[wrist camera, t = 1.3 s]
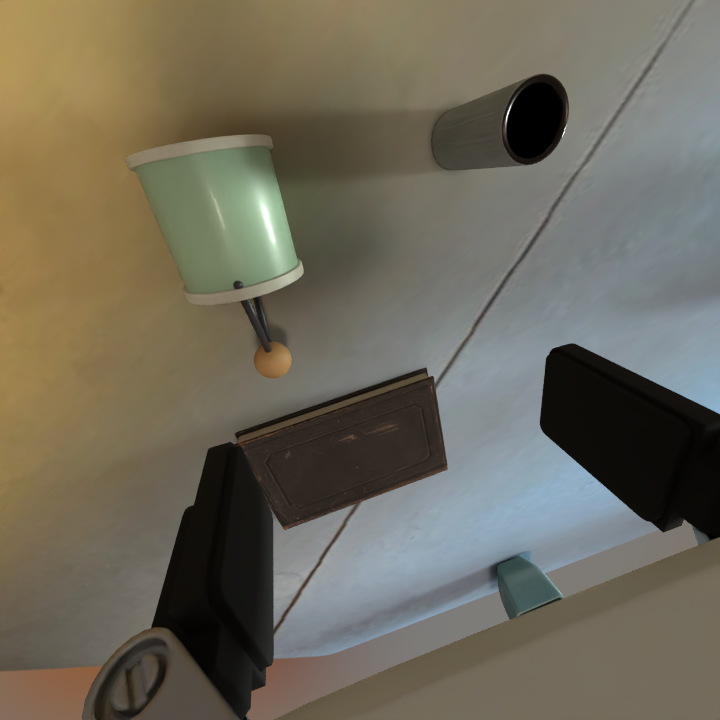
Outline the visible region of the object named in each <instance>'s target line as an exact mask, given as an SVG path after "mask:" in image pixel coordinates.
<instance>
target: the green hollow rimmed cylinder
mask: <svg viewBox="0 0 720 720" xmlns="http://www.w3.org/2000/svg"><path fill="white" fill-rule="evenodd" d="M272 148H273V143H272V139H271V137H270V136H268V135H262V134H246V135H231V136H221V137H212V138H205V139H198V140H191V141H185V142H179V143H174V144H169V145H164V146H159V147H155V148H150V149H146V150H143V151H139V152H136V153H133V154H131V155H129V156H127V157H126V158H125V161H126V163H127V166H128V168H129V170H131V171H136V173H137V175H138V178H139V180H140V182H141V185H142V187H143V189H144V192H145V194H146V196H147V199H148V201H149V203H150V206H151V208H152V210H153V212H154V215H155V217H156V219H157V222H158V224H159V226H160V229H161V231H162V233H163V236H164V238H165V240H166V243H167V245H168V247H169V249H170V252H171V254H172V256H173V259H174V261H175V263H176V266H177V268H178V270H179V273H180V275H181V277H182V280H183V282H184V284H185V286H184V288H183V293H184V295H185V298H186V300H187V301H188V302H189V303H191V304H195V305H219V304H227V303H233V302H238V301H241V303H242V305H243V307H244V309H245V311H246V313H247V315H248V317H249V320H250V322H251V324H252V326H253V328H254V330H255V332H256V334H257V336H258V338H259V340H260V342H261V344H262V346H260V347H259V348H258V349H257V351H256V353H255V356H254V364H255V367H256V369H257V371H258V372H259V373H260V374H261V375H263V376H265V377H268V378H278V377H280V376H282V375H284V374H285V373H286V372H287V371H288V370H289V368H290V366H291V354H290V352H289V350H288V349H287V348H286V347H285V346H284V345H282V344H280V343H277V342H272V341H271V337H270V333H269V329H268V326H267V322H266V318H265V314H264V310H263V307H262V303H261V299H260V296H261V295H264V294H268V293H270V292H273V291H276V290H278V289H281V288H283V287H285V286H287V285H289V284H291V283H293V282H294V281H296V280H297V279H299V278H300V277H301V276H302V275H303V272H304V270H303V265H302V262H301V260H300V259H298V258H297V257H296V253H295V249H294V245H293V241H292V237H291V233H290V229H289V225H288V221H287V217H286V213H285V209H284V205H283V201H282V197H281V193H280V189H279V185H278V181H277V177H276V173H275V169H274V166H273V162H272V158H271V154H270V149H272ZM251 298H253V300H254V304H255V308H256V312H257V315H258V317H257V315H256V313H255V310H254V308H253V306H252V304H251V301H250V299H251Z"/></svg>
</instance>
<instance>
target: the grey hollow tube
mask: <svg viewBox="0 0 720 720" xmlns="http://www.w3.org/2000/svg"><path fill="white" fill-rule="evenodd" d="M568 115H569V103H568V97H567V93H566V91H565V88H564V86H563V85H562V83H561V82H560V81H559V80H558V79H557V78H555V77H553V76H551V75H548V74H537V75H534V76H531V77H529V78H526V79H524V80H521V81H519V82H516V83H514V84H512V85H509V86H507V87H504V88H502V89H499V90H497V91H495V92H492V93H490V94H487V95H485V96H482V97H480V98H478V99H475V100H473V101H470V102H468V103H466V104H463V105H461V106H458V107H456V108H453V109H452V110H450V111H448V112H446V113H445V114H444V115H443V116H442V117H441V118H440V119H439V121H438V122H437V124H436V126H435V129H434V132H433V136H432V150H433V154H434V157H435V159H436V160H437V162H438V163H439V164H440V165H441V166H442V167H444V168H446V169H448V170H468V169H482V168H496V167H510V166H524V165H532V164H536V163H538V162H540V161H542V160H543V159H545V158H546V157H547V156H548V155H550V154H551V153H552V151H553V150H554V149H555V148H556V147H557V145H558V144H559V142H560V140H561V138H562V136H563V134H564V131H565V129H566V125H567V121H568Z"/></svg>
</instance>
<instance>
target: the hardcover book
mask: <svg viewBox="0 0 720 720" xmlns="http://www.w3.org/2000/svg"><path fill="white" fill-rule="evenodd" d="M235 435H236V437H237V439H238V441H237V444H234V446H238V445H241V447H242V448H243V450H244V453H245V455H246V457H247V459H248V461H249V463H250V466H251V468H252V470H253V472H254V474H255V476H256V479H257V481H258V483H259V485H260V487H261V490H262V492H263V494H264V496H265V498H266V500H267V502H268V504H269V506H270V507H271V509H272V511H273V512H274V514H275V515H276V517H277V519H278V520H279V522H280V524H281V525H282V527H283V529H284V530H286V529H289V528H292V527H294V526H297V525H300V524H302V523H305V522H308V521H310V520H313V519H316V518H319V517H321V516H324V515H327V514H329V513H332V512H335V511H337V510H340V509H343V508H345V507H348V506H351V505H354V504H356V503H359V502H362V501H364V500H367V499H370V498H372V497H375V496H378V495H380V494H383V493H386V492H389V491H391V490H394V489H397V488H399V487H402V486H405V485H407V484H410V483H413V482H415V481H418V480H421V479H423V478H426V477H429V476H432V475H434V474H437V473H440V472H442V471H445V470H447V469H448V466H447V460H446V453H445V447H444V440H443V434H442V428H441V421H440V415H439V408H438V402H437V395H436V389H435V382H434V377H433V376H431V377H428V373H427V368H424V369H422V370H419V371H416V372H413V373H410V374H407V375H404V376H401V377H398V378H395V379H392V380H389V381H387V382H384V383H381V384H378V385H375V386H372V387H369V388H366V389H363V390H360V391H357V392H355V393H352V394H349V395H346V396H343V397H340V398H337V399H334V400H331V401H328V402H325V403H322V404H320V405H317V406H314V407H311V408H308V409H305V410H302V411H299V412H296V413H293V414H290V415H287V416H285V417H282V418H279V419H276V420H273V421H270V422H267V423H264V424H261V425H258V426H255V427H253V428H250V429H247V430H244V431H241V432H238V433H235Z"/></svg>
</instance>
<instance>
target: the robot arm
mask: <svg viewBox="0 0 720 720" xmlns="http://www.w3.org/2000/svg"><path fill="white" fill-rule="evenodd" d="M540 427H541V429H542V431H543V432H544V434H545V435H546V436H548V437H549V438H550V439H551V440H552V441H553V442H554V443H556V444H557V445H558V446H559V447H560V448H561V449H563V450H564V451H565V452H566V453H567V454H568V455H569V456H571V457H572V458H573V459H574V460H575V461H576V462H577V463H579V464H580V465H581V466H582V467H583V468H584V469H586V470H587V471H588V472H589V473H590V474H591V475H592V476H594V477H595V478H596V479H597V480H598V481H599V482H600V483H602V484H603V485H604V486H605V487H606V488H607V489H608V490H610V491H611V492H612V493H613V494H614V495H615V496H617V497H618V498H619V499H620V500H621V501H622V502H623V503H625V504H626V505H627V506H628V507H629V508H630V509H631V510H633V511H634V512H635V513H636V514H637V515H638V516H640V517H641V518H642V519H644V520H646V521H649V522H652V523H653V524H654V525H655V526H656V527H657V528H659V529H660V530H661V531H662V532H666V531H668V530H671V529H673V528H676V527H679V526H681V525H682V523H683V521H684V519H685V520H686V521H687V522H688V523H690V524H691V525H692V528H693V531H694V534H695V536H696V539H697V542H698V546H696V547H693V548H691V549H688V550H685V551H683V552H680V553H678V554H675V555H673V556H670V557H667V558H665V559H662V560H660V561H657V562H655V563H652V564H650V565H647V566H644V567H642V568H639V569H637V570H634V571H632V572H629V573H627V574H624V575H622V576H619V577H617V578H614V579H612V580H609V581H606V582H604V583H601V584H599V585H596V586H594V587H591V588H589V589H586V590H584V591H581V592H579V593H576V594H573V595H571V596H568V597H566V598H563V599H561V600H558V601H556V602H553V603H551V604H548V605H546V606H543V607H541V608H538V609H536V610H533V611H531V612H528V613H526V614H523V615H521V616H518V617H516V618H513V619H511V620H508V621H506V622H503V623H501V624H498V625H496V626H493V627H491V628H488V629H486V630H484V631H481V632H478V633H476V634H473V635H471V636H468V637H466V638H464V639H461V640H458V641H456V642H454V643H451V644H449V645H446V646H444V647H441V648H439V649H436V650H434V651H431V652H429V653H426V654H424V655H421V656H419V657H416V658H414V659H411V660H409V661H406V662H404V663H401V664H399V665H396V666H394V667H392V668H389V669H387V670H384V671H382V672H380V673H378V674H375V675H373V676H370V677H368V678H366V679H363V680H361V681H359V682H357V683H354V684H352V685H349V686H347V687H345V688H342V689H340V690H338V691H335V692H333V693H330V694H328V695H326V696H323V697H321V698H319V699H316V700H314V701H312V702H310V703H307V704H305V705H303V706H301V707H299V708H297V709H295V710H293V711H291V712H289V713H287V714H285V715H283V716H281V717H279V718H277V719H275V720H720V414H718V413H716V412H714V411H712V410H710V409H708V408H706V407H704V406H702V405H700V404H698V403H696V402H694V401H692V400H690V399H687V398H685V397H683V396H681V395H679V394H677V393H675V392H673V391H671V390H669V389H667V388H665V387H663V386H661V385H659V384H657V383H655V382H652V381H650V380H648V379H646V378H644V377H642V376H640V375H638V374H636V373H634V372H632V371H630V370H628V369H626V368H624V367H622V366H620V365H617V364H615V363H613V362H611V361H609V360H607V359H605V358H603V357H601V356H599V355H597V354H595V353H593V352H591V351H589V350H587V349H585V348H583V347H580V346H578V345H576V344H573V343H572V344H567V345H563V346H560V347H556V348H554V349H552V350H551V351H550V354H549V355H548V356H547V358H546V365H545V376H544V386H543V396H542V406H541V416H540ZM273 655H274V639H273V517H272V512H271V509H270V507H269V505H268V503H267V500H266V498H265V496H264V494H263V492H262V490H261V487H260V485H259V483H258V481H257V479H256V476H255V474H254V472H253V470H252V468H251V466H250V463H249V461H248V459H247V457H246V455H245V453H244V450H243V448H242V447H241V445H238V446H234V444H233V443H232V442H229V443H225V444H222V445H219V446H215V447H212V448H209V449H208V452H207V456H206V460H205V464H204V468H203V472H202V476H201V479H200V483H199V487H198V491H197V495H196V499H195V503H194V505H193V506H190V507H188V508H187V509H186V510H185V512H184V514H183V516H182V520H181V524H180V527H179V531H178V534H177V538H176V541H175V545H174V549H173V552H172V556H171V559H170V563H169V566H168V570H167V573H166V577H165V581H164V584H163V588H162V591H161V595H160V598H159V602H158V606H157V609H156V613H155V616H154V620H153V623H152V627H151V629H148V630H144V631H142V632H141V633H139V634H137V635H135V636H133V637H132V638H130V639H129V640H128V641H127V642H125V643H124V644H123V645H122V646H121V647H119V648H118V649H117V650H116V651H115V652H114V654H113V655H112V656H111V657H110V658H109V659H108V661H107V662H106V663H105V664H104V665H103V667H102V669H101V670H100V672H99V673H98V675H97V677H96V678H95V679H94V681H93V683H92V685H91V688H90V690H89V692H88V695H87V697H86V699H85V704H84V709H83V714H82V720H250V719H249V718H248V717H247V716H246V714H247V712H248V711H249V709H250V707H251V691H253V690H255V689H258V688H261V687H263V686H265V683H266V682H265V680H266V667H268V666H271V665H272V663H273Z"/></svg>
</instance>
